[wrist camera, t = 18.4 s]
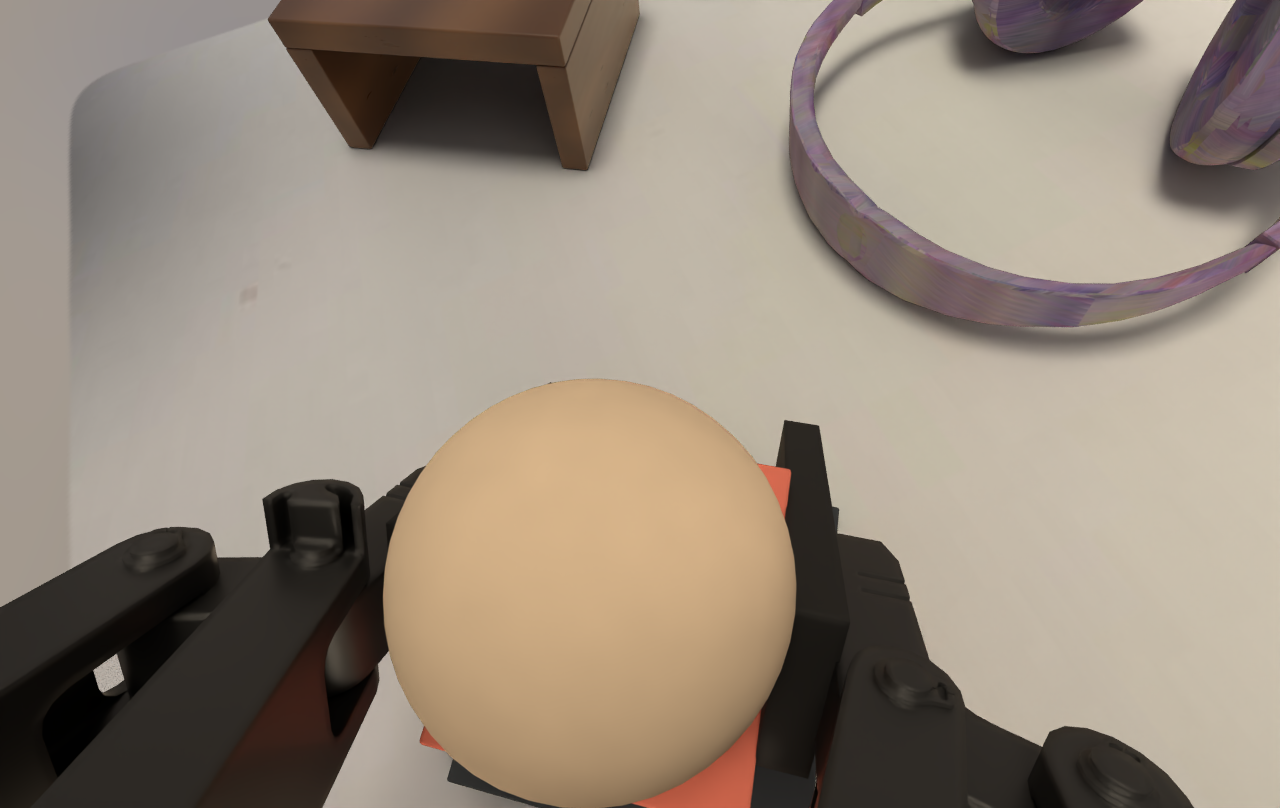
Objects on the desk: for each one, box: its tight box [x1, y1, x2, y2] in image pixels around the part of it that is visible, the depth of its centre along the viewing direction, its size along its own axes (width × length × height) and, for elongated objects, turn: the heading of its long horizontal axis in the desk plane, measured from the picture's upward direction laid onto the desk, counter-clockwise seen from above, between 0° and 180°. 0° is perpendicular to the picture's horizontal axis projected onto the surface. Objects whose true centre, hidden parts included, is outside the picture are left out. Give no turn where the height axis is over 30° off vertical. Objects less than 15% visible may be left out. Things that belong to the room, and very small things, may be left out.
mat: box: [447, 507, 839, 808], centre depth 18 cm, size 10×10×1 cm
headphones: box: [789, 0, 1280, 327], centre depth 22 cm, size 18×8×20 cm
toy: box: [383, 379, 796, 808], centre depth 11 cm, size 5×5×12 cm
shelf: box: [268, 0, 640, 170], centre depth 27 cm, size 12×11×6 cm
